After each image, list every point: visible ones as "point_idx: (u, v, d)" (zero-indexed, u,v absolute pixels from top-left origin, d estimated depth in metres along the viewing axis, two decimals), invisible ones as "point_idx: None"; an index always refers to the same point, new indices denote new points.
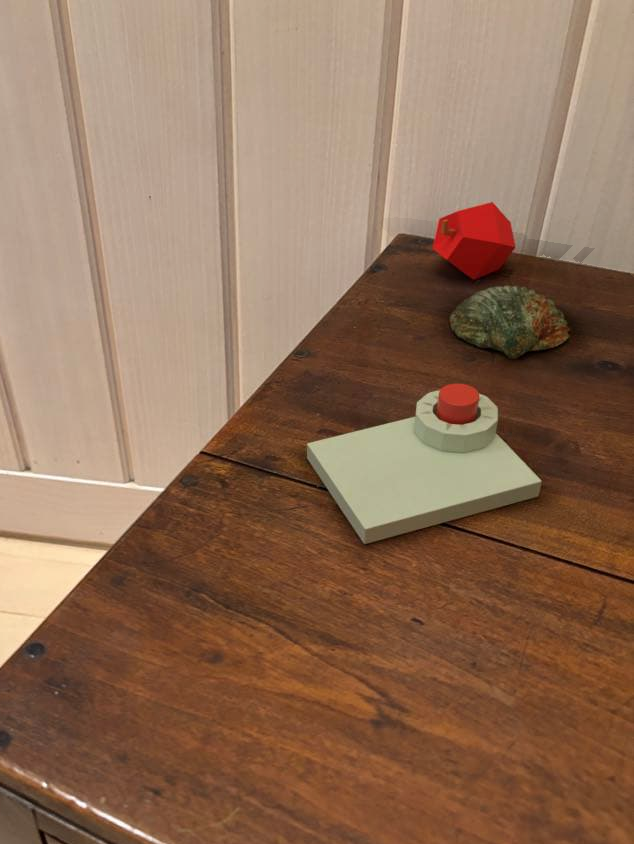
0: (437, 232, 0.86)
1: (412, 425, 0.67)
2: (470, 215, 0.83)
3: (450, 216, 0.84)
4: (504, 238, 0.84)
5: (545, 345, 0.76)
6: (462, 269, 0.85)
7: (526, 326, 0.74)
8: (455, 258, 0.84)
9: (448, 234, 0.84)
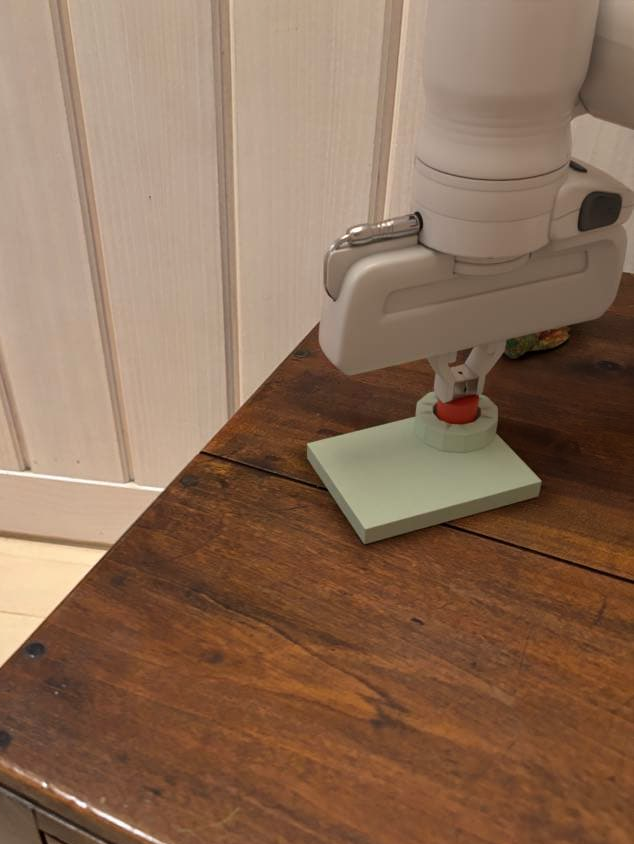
0: None
1: (412, 425, 0.67)
2: None
3: None
4: None
5: (545, 345, 0.76)
6: None
7: None
8: None
9: None
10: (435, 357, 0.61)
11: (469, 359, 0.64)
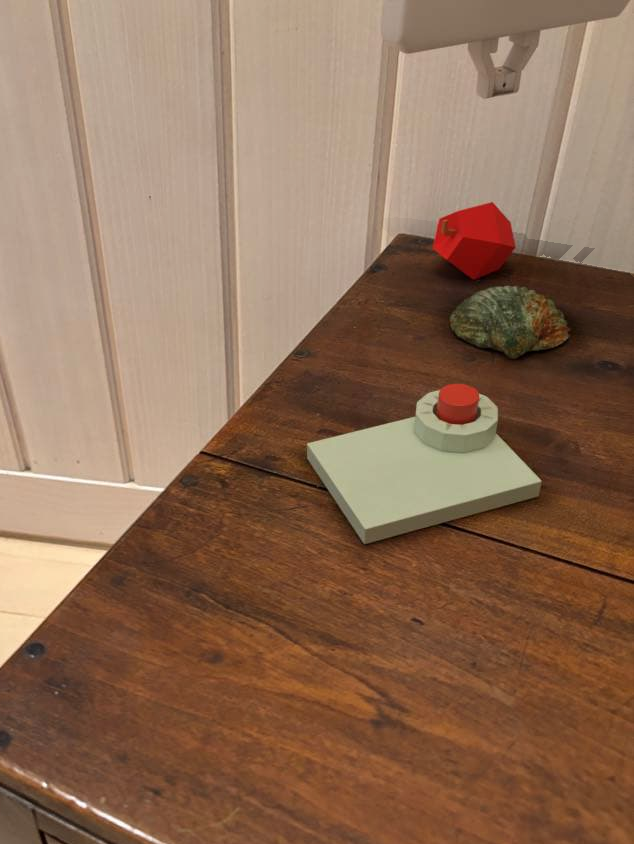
0: (437, 232, 0.86)
1: (412, 425, 0.67)
2: (470, 215, 0.83)
3: (450, 216, 0.84)
4: (504, 238, 0.84)
5: (545, 345, 0.76)
6: (462, 269, 0.85)
7: (526, 326, 0.74)
8: (455, 258, 0.84)
9: (448, 234, 0.84)
10: (479, 47, 0.71)
11: (507, 60, 0.74)
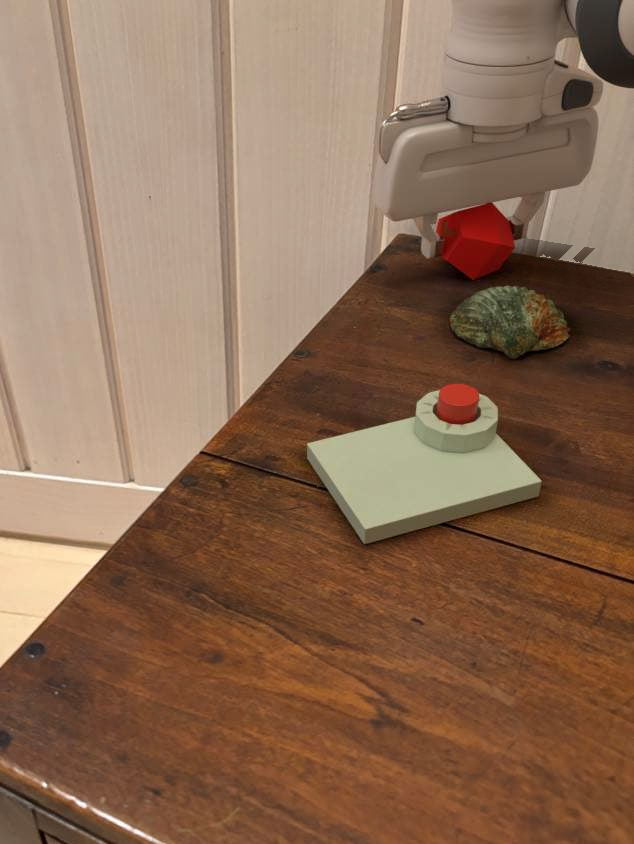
0: None
1: (412, 425, 0.67)
2: (469, 215, 0.83)
3: (449, 216, 0.84)
4: (503, 239, 0.84)
5: (545, 345, 0.76)
6: (461, 269, 0.85)
7: (526, 326, 0.74)
8: (455, 258, 0.84)
9: (447, 234, 0.84)
10: (421, 219, 0.82)
11: (516, 211, 0.86)
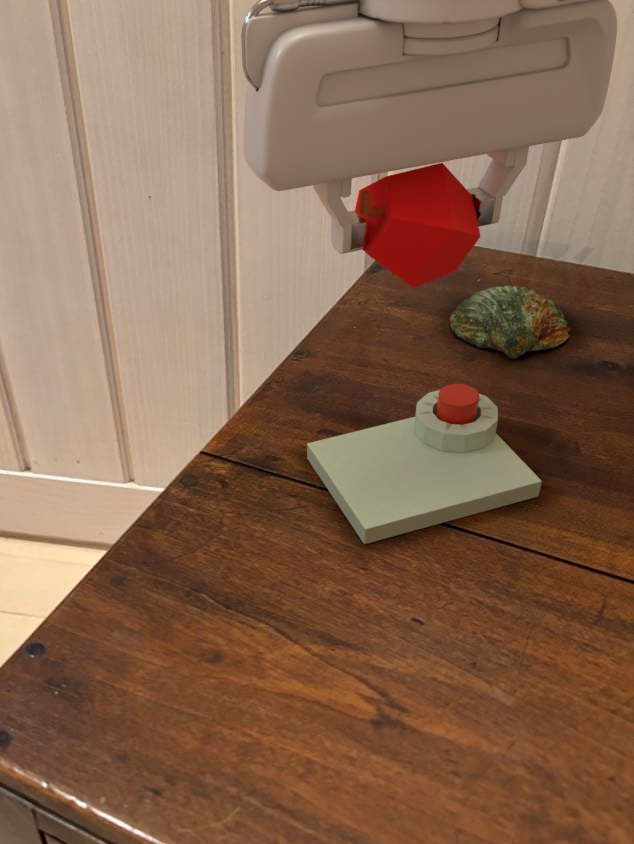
0: None
1: (412, 425, 0.67)
2: (405, 183, 0.51)
3: (375, 186, 0.52)
4: (460, 222, 0.52)
5: (545, 345, 0.76)
6: (395, 271, 0.53)
7: (526, 326, 0.74)
8: (383, 252, 0.52)
9: (371, 214, 0.52)
10: (325, 189, 0.50)
11: (483, 180, 0.54)
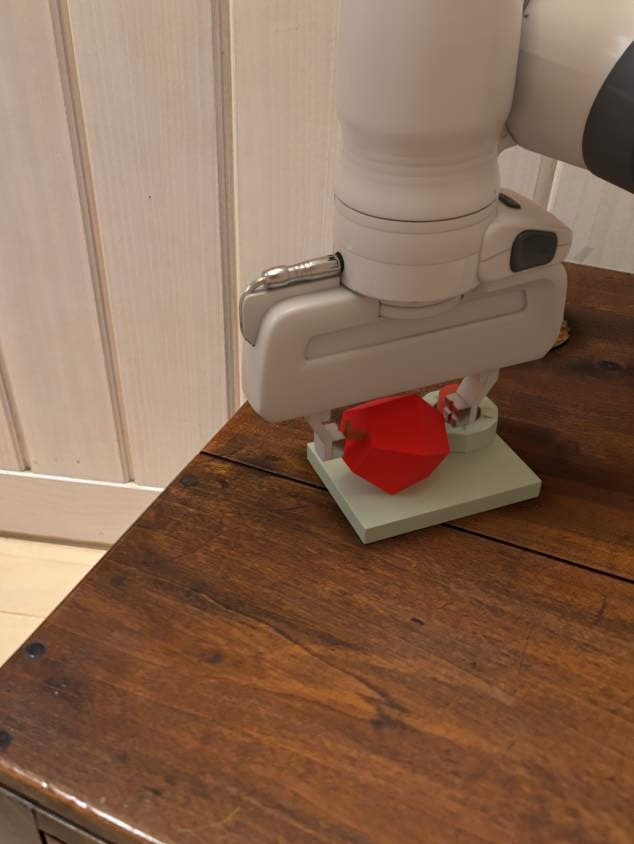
0: (341, 429, 0.61)
1: None
2: (383, 413, 0.59)
3: (357, 412, 0.60)
4: (432, 445, 0.59)
5: None
6: (375, 483, 0.61)
7: None
8: (364, 470, 0.60)
9: (354, 438, 0.60)
10: (307, 416, 0.57)
11: (461, 387, 0.61)
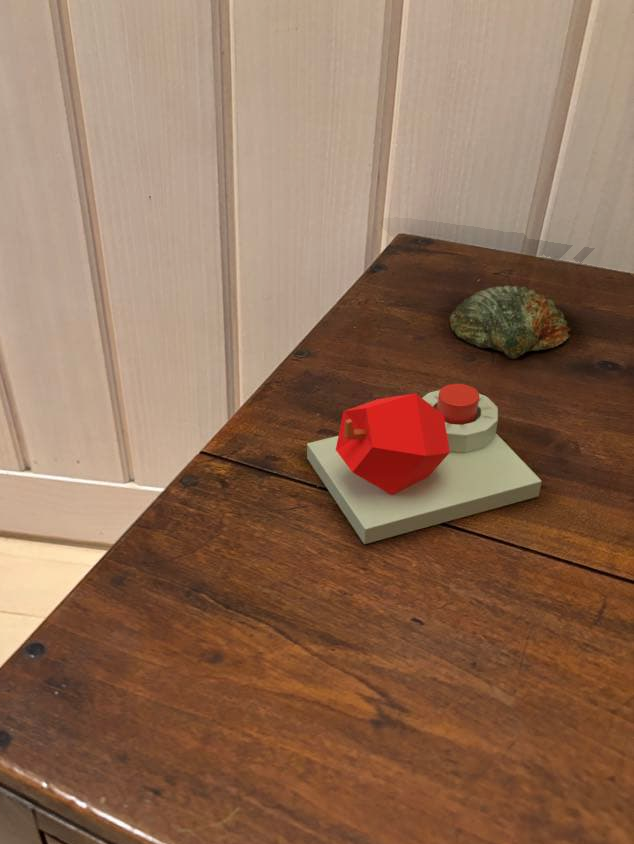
0: (341, 429, 0.61)
1: None
2: (383, 413, 0.59)
3: (357, 412, 0.60)
4: (432, 445, 0.59)
5: (545, 345, 0.76)
6: (375, 483, 0.61)
7: (526, 326, 0.74)
8: (364, 470, 0.60)
9: (354, 438, 0.60)
10: None
11: None
